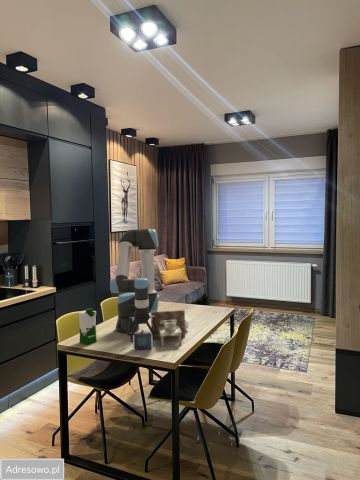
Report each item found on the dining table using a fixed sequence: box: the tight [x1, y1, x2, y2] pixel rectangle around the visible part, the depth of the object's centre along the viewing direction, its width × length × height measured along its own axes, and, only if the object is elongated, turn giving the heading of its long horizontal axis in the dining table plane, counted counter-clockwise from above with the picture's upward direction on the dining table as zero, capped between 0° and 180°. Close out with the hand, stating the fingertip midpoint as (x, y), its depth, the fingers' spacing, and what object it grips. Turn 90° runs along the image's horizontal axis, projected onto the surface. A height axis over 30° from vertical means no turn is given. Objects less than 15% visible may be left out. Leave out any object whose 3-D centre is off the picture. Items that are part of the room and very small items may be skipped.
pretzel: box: [185, 318, 190, 331], centre depth 232 cm, size 11×12×9 cm
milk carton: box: [77, 307, 98, 346], centre depth 213 cm, size 9×9×20 cm
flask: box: [134, 329, 152, 351], centre depth 201 cm, size 9×3×11 cm, turn 95°
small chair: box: [150, 309, 186, 348], centre depth 212 cm, size 20×16×16 cm
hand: (142, 347), depth 201 cm, fingers closed on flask, 9 cm apart
